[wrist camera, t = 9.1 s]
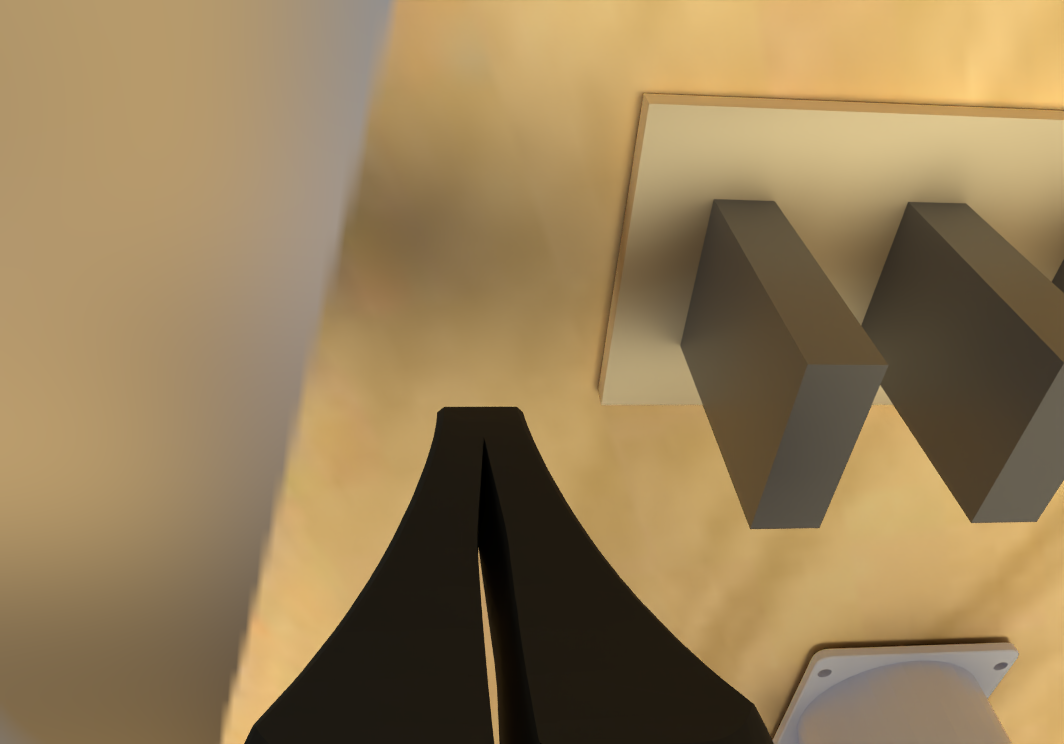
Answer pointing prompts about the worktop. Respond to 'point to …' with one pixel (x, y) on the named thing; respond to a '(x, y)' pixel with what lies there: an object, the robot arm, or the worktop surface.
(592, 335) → the worktop surface
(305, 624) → the worktop surface
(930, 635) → the worktop surface
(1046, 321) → the domino
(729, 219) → the domino
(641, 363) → the board
